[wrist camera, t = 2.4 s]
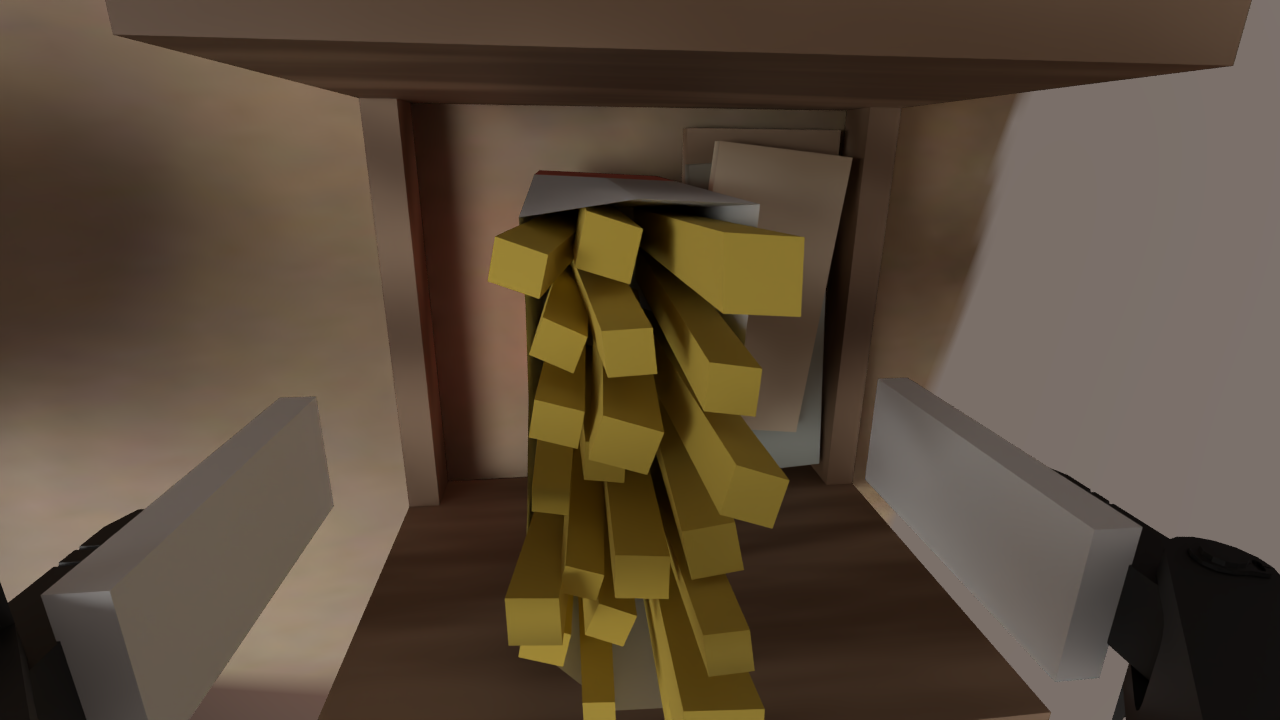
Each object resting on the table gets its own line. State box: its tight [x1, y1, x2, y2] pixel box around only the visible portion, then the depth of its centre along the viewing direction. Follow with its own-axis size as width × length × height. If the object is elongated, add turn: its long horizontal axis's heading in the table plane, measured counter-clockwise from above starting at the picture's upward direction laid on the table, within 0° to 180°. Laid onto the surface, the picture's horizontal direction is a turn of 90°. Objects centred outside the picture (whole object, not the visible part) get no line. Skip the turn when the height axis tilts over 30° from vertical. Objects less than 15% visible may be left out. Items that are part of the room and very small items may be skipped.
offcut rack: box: [105, 0, 1252, 720], centre depth 20 cm, size 18×19×14 cm
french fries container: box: [488, 170, 805, 720], centre depth 17 cm, size 5×11×18 cm, turn 177°
